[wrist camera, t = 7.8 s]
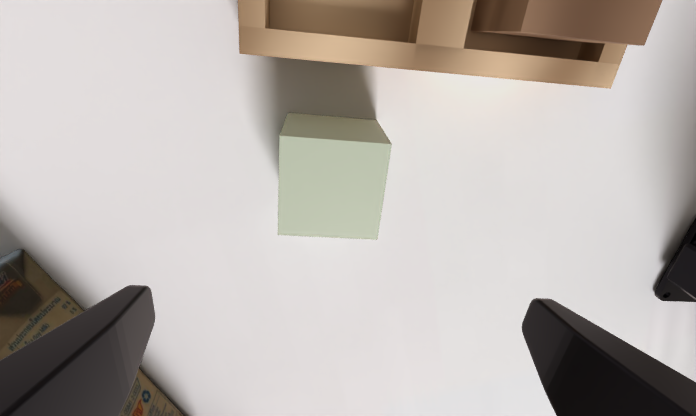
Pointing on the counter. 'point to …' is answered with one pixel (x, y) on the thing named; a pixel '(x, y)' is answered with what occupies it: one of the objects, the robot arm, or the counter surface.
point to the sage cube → (331, 176)
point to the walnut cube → (569, 19)
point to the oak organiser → (417, 40)
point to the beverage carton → (55, 324)
